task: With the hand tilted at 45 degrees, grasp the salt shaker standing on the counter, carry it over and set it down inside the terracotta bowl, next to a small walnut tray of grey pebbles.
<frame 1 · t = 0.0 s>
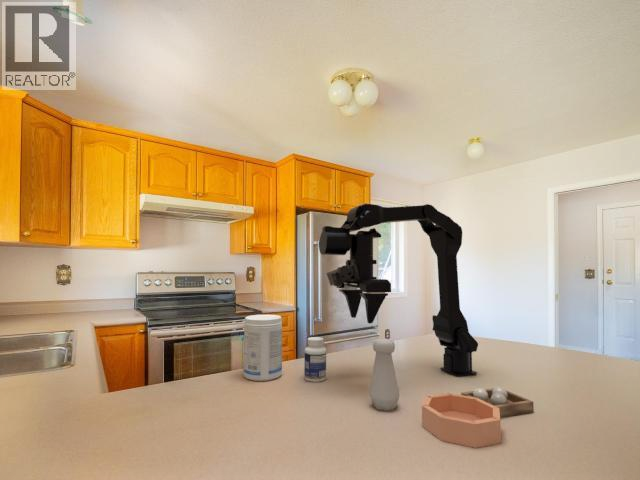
hand: (361, 320, 82), 15 cm above the counter, tool pointing down, fingers open, 9 cm apart
pebble tray: (496, 407, 67), on the counter
bowl: (460, 428, 58), on the counter
pebble a: (499, 394, 68), point 2 cm above the counter, touching pebble tray
pebble b: (498, 400, 65), point 2 cm above the counter, touching pebble tray
pill bottle: (315, 379, 83), on the counter
supplement tub: (262, 376, 85), on the counter
salt shaker: (384, 407, 67), on the counter
pebble c: (480, 395, 68), point 2 cm above the counter, touching pebble tray
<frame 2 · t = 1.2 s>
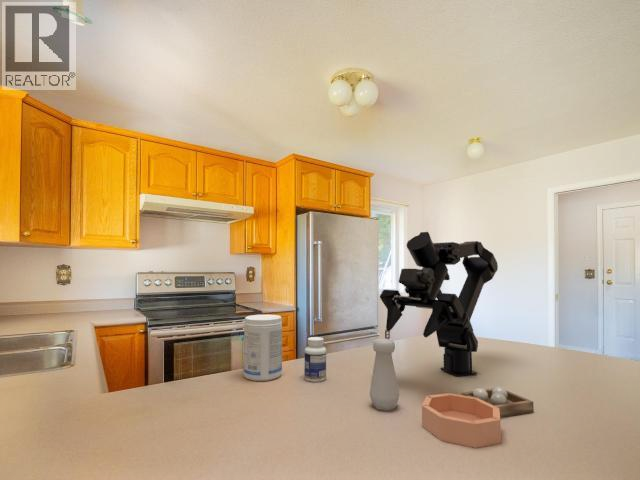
hand: (405, 332, 73), 13 cm above the counter, tool tilted 45°, fingers open, 9 cm apart
nothing on the counter moved.
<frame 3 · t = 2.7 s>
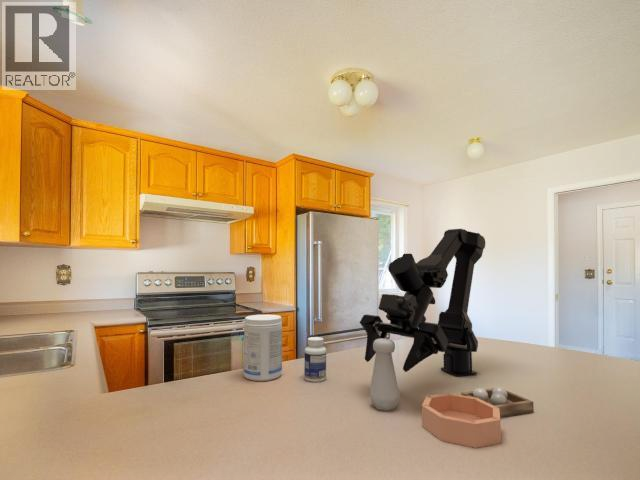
hand: (384, 365, 67), 8 cm above the counter, tool tilted 45°, fingers open, 9 cm apart
nothing on the counter moved.
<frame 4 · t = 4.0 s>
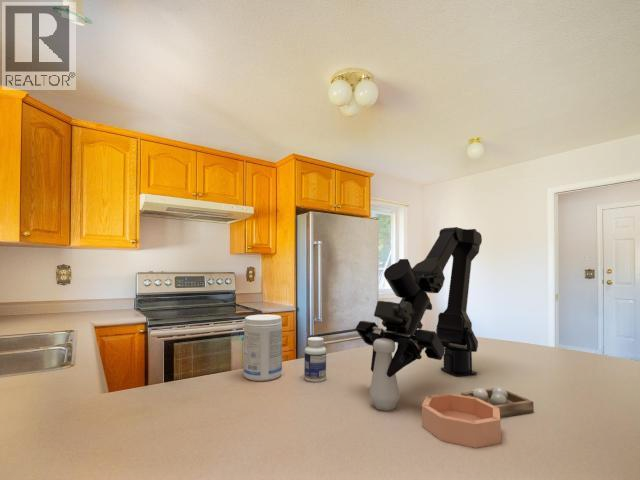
hand: (380, 373, 66), 7 cm above the counter, tool tilted 45°, fingers closed on salt shaker, 3 cm apart
salt shaker: (384, 407, 67), on the counter, touching gripper
everything else where it was.
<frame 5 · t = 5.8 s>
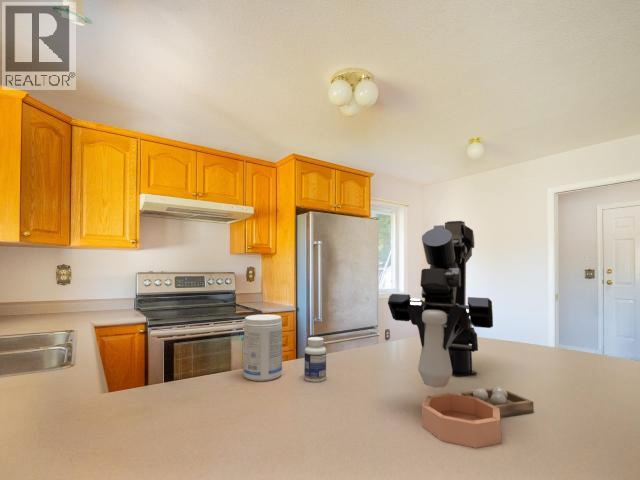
hand: (433, 347, 60), 13 cm above the counter, tool tilted 45°, fingers closed on salt shaker, 3 cm apart
salt shaker: (435, 384, 61), point 6 cm above the counter, touching gripper
everything else where it was.
when the fingers open (8 cm above the counter, at t = 7.6 s): salt shaker stays where it is, resting on bowl.
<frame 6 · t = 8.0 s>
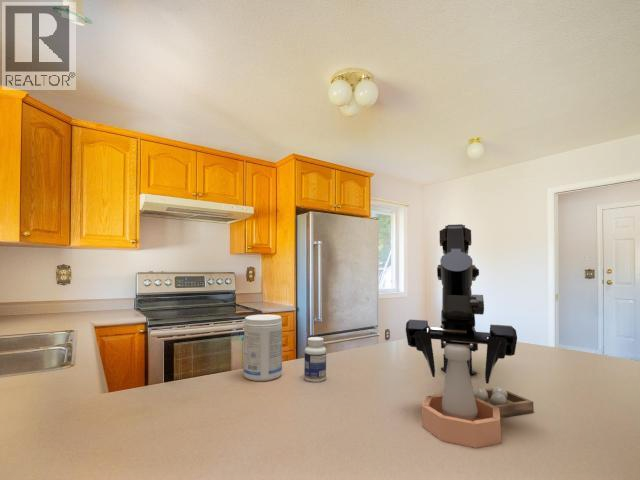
hand: (459, 379, 57), 9 cm above the counter, tool tilted 45°, fingers open, 8 cm apart
salt shaker: (459, 423, 58), point 1 cm above the counter, touching bowl
everything else where it was.
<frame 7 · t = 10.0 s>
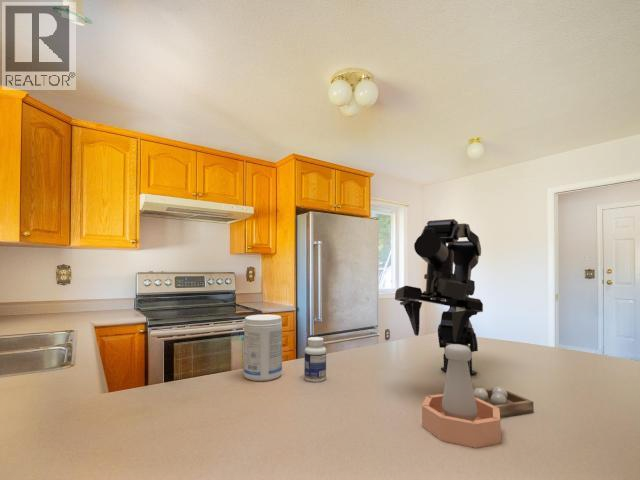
hand: (436, 338, 74), 12 cm above the counter, tool pointing down, fingers open, 9 cm apart
nothing on the counter moved.
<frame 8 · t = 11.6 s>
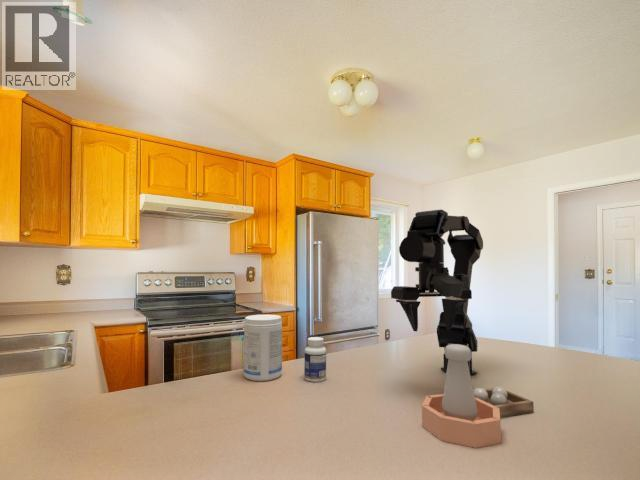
hand: (432, 330, 78), 13 cm above the counter, tool pointing down, fingers open, 9 cm apart
nothing on the counter moved.
at the end: salt shaker 0.3 cm from the bowl (horizontally); salt shaker point 0.6 cm above the counter; the gripper is holding nothing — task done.
